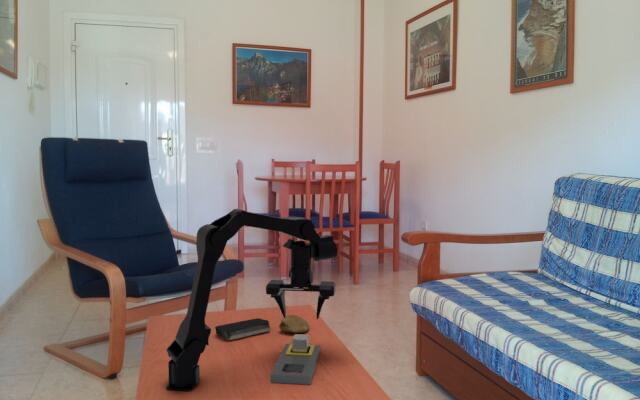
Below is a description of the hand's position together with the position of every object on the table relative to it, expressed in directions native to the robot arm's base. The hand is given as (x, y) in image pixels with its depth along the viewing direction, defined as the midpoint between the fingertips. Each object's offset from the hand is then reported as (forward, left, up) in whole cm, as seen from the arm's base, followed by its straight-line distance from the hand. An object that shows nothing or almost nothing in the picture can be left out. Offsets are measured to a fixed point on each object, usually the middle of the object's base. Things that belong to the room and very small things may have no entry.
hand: (301, 318), depth 144 cm
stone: (-5, +21, -12) cm, 25 cm away
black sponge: (-21, +16, -12) cm, 29 cm away
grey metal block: (0, 0, -11) cm, 11 cm away
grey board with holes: (0, -6, -11) cm, 13 cm away
